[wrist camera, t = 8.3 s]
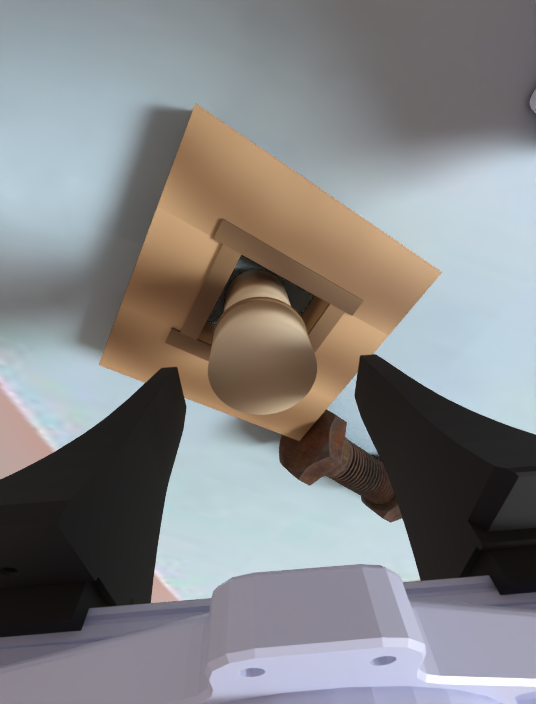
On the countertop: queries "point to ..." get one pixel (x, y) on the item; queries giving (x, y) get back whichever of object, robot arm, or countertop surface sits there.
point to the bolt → (340, 464)
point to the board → (268, 251)
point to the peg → (260, 348)
